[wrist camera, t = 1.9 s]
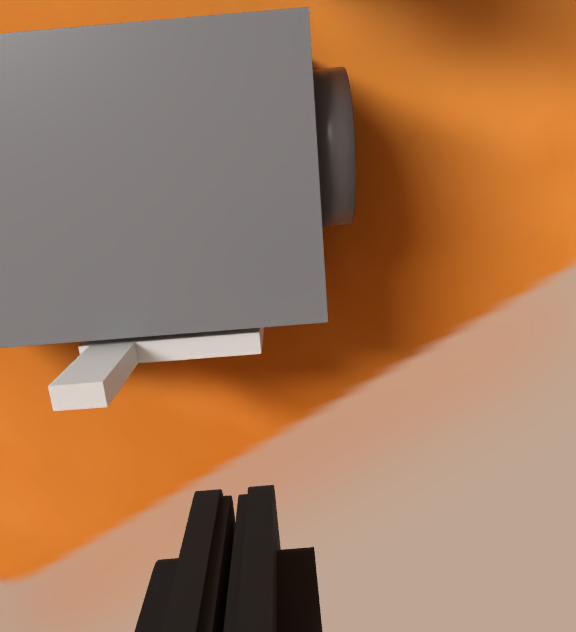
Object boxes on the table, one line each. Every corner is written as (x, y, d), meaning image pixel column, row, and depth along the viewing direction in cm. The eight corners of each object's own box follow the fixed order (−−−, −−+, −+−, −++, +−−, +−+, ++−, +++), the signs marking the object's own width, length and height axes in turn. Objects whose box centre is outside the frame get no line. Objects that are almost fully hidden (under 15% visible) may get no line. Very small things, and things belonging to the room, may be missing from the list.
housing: (331, 50, 28) (355, -4, 19) (344, 295, 32) (369, 352, 23) (-78, 85, 29) (-255, 49, 19) (-18, 323, 32) (-142, 391, 23)
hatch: (264, 292, 31) (253, 368, 20) (266, 314, 31) (257, 401, 20) (124, 303, 31) (33, 385, 20) (127, 325, 31) (41, 418, 20)
